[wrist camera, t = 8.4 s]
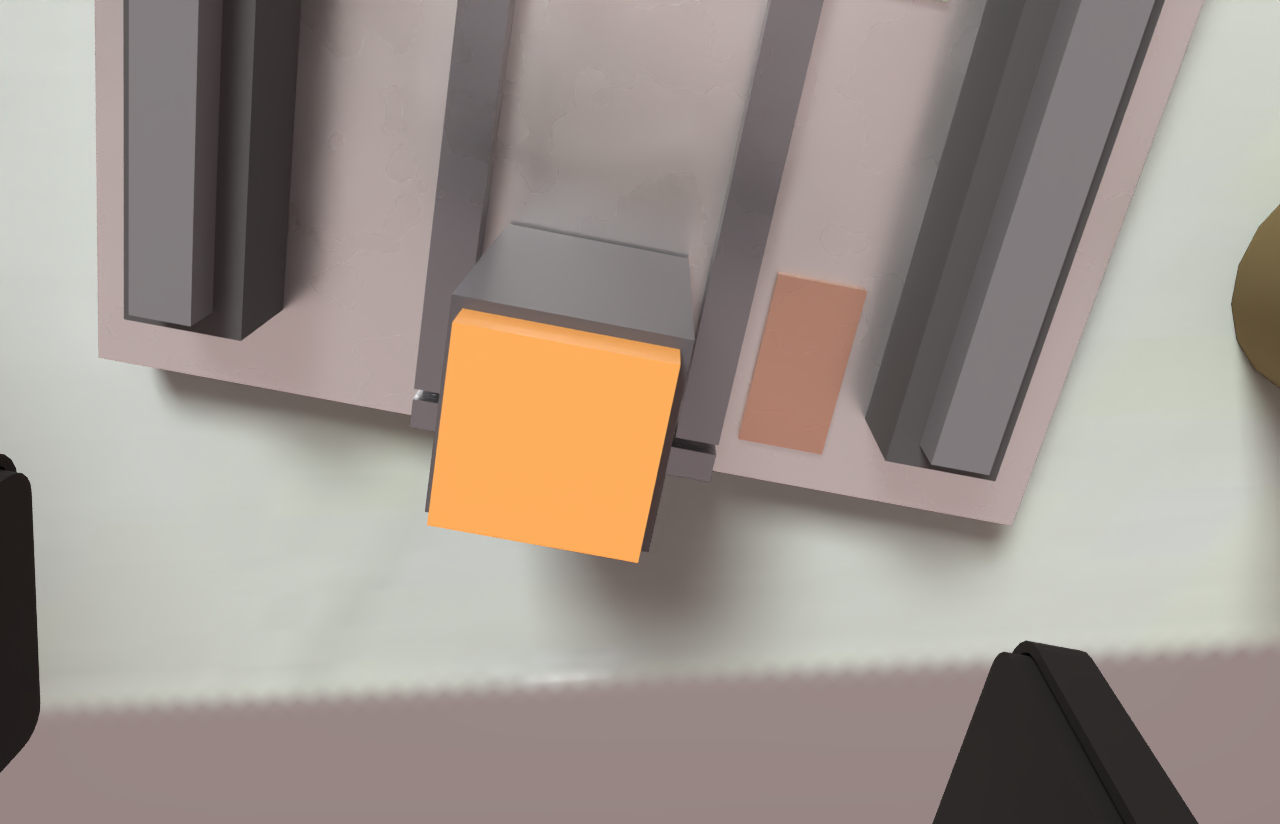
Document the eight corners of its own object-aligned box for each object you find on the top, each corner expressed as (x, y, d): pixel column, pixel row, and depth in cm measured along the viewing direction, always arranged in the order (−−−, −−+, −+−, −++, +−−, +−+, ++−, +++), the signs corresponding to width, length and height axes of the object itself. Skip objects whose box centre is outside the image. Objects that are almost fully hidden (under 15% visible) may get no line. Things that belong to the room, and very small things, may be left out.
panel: (140, 332, 25) (79, 369, 23) (145, -445, 20) (63, -516, 17) (987, 489, 26) (1022, 542, 24) (1232, -209, 20) (1314, -243, 18)
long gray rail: (177, 290, 23) (97, 333, 20) (189, -338, 18) (89, -411, 15) (964, 437, 24) (1010, 502, 20) (1154, -132, 19) (1250, -162, 16)
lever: (483, 393, 23) (413, 533, 17) (508, 223, 22) (441, 307, 15) (654, 424, 23) (647, 574, 17) (688, 258, 22) (695, 355, 16)
